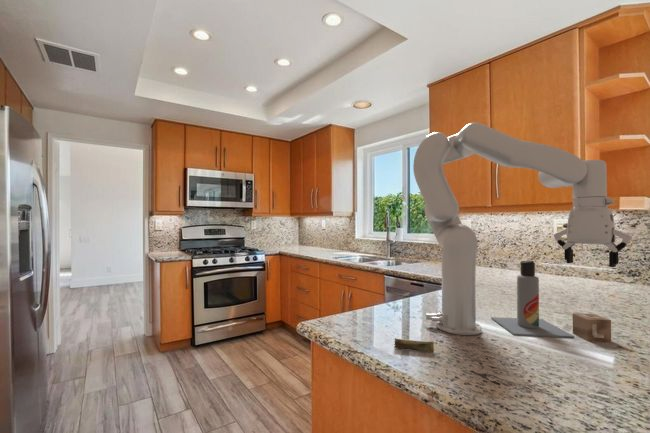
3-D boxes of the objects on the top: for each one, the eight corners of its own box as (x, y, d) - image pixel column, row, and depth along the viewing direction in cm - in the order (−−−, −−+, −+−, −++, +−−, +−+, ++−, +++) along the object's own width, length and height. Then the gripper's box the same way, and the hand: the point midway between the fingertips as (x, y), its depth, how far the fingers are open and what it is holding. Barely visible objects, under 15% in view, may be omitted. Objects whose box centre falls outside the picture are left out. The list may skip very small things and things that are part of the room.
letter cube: (587, 341, 87) (587, 319, 87) (572, 333, 93) (572, 312, 93) (611, 342, 87) (611, 319, 87) (594, 334, 93) (594, 313, 93)
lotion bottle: (542, 329, 95) (542, 262, 96) (521, 328, 96) (521, 261, 97) (533, 323, 101) (533, 259, 101) (514, 322, 102) (514, 259, 102)
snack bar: (433, 352, 79) (433, 340, 79) (434, 354, 78) (434, 342, 78) (394, 348, 82) (394, 336, 82) (393, 350, 80) (393, 338, 80)
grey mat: (513, 335, 91) (513, 333, 91) (491, 318, 107) (491, 317, 107) (574, 338, 90) (574, 336, 90) (542, 320, 106) (542, 319, 106)
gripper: (634, 203, 86) (635, 267, 86) (558, 206, 100) (559, 260, 100) (627, 202, 82) (628, 269, 81) (549, 205, 96) (549, 262, 95)
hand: (590, 264), depth 91 cm, fingers open, 9 cm apart
